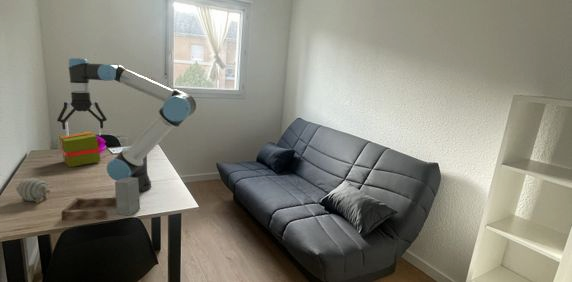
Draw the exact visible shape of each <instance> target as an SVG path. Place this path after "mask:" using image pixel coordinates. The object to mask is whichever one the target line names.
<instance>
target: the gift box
mask: <svg viewBox="0 0 572 282" xmlns="http://www.w3.org/2000/svg"><path fill="white" fill-rule="evenodd" d="M58 137H59V142H60V151H61V152H62V153H61V154H62V157H63V158H62V159H63V161H64V163H65V164H66V166H68V168H73V167H77V166H78V167H79V166H82V165H88V164H95V163H99V162H100V163H101V157H100V156H101V154H102V153H103V152H104V151H106V150H105V149H107V147H108V146H106V144H105V143H107V141H106V140H105V139H104V138H102V137H101V136H100V135H98V134H95V133H94V132H91V131H89V130H88V131H83V132H79V133H71V134H69V136H66V134H64V135H59V136H58Z"/></svg>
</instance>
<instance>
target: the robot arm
mask: <svg viewBox="0 0 572 282" xmlns="http://www.w3.org/2000/svg"><path fill="white" fill-rule="evenodd" d="M68 73H69V81H70V82H69V85H70V91H71V92H70V97H71V101H64V102H63V107H62V110H61V111H60V113H59V115H58V117H57V119H56V120H57V122H60V123H62V125H61V126H62V130H65V135H66V136H69V135H70V133H69V132H70V131H69V122H68V120H69V118H71V116H72V115H73V114H74V113H75V112H76V111H77V112H88V113H90V115H92V116H93V117H94V118H96V120H97V121H98V122H97V125H98V126H97V127H98V136H101V135H102V129H103V128H104V122H106V121H107V120H108V118H107V117H106V115H105V113H104V112H103V110H102V109H101V107H100V105H99V102H98V101H94V102H92V101H91V93H90V80H92V81H93V80H94V81H104V82H108V81H110V82H112V81H116V82H118V83H120V84H123V85H125V86H127V87H130V88H131V89H134V90H137V91H138V92H141V93H143V94H145V95H147V96H150V97H153V99H157V100H159V101H160V102H163V104H162V107H160V109H159V110H158V116H157V117H156V118H155V119H153V121H152V122H151V123H150V124H149V126H148V127H147V128H146V129H145V130H144V131H143V132H142V133H141V134H140V136H139V137H137V139H136V140H135V141H134V142H133V143H132V144H131V145H130V146H128V147H127V146H126V147H123V148H122V150H121V151H120V152H119V153H118V154H117V155H116V156H115V157H114V158H113V159H111V160H109V162H108V163H107V165H106V172H107V175H108V176H109V177H110V178H111V179H112V180H114V181H115V182H116V181H118V180H120V179H123V178H126V177H132V178H138V185H139V193H142V192H146V191H148V190H150V189H151V188H152V182H151V179H150V177H149V174H148V159H147V157H148V155H149V153H151V151H152V150H153V149H154V148H155V147H156V146H158V144H159V143H160V142H161V141H162V140H163V139H164V138H165V137H166V136H167V134H169V132H170V131H171V130H172V129H173V128H178V127H179V126H180V125H181V124H182V123H183V122H184V121H185V120H186V119H187V118H188V117H189V116H191V115H193V114H194V113H195V111H196V108H197V103H196V102H197V101H196V100H195V99H194V97H193V96H192V95H191V94H188V93H186V92H184V91H180V89H179V90H178V89H176V88H175V89H171V88H169V87H167V86H165V85H163V84H161V83H158V82H156V81H154V80H152V79H149V78H148V77H145V76H142V75H140V74H138V73H136V72H134V71H131V70H129V69H126V68H125V67H124V66H123V65H121V64H118V63H89V61H88V59H86V58H81V57H79V58H78V57H77V58H76V57H70V58H69V59H68ZM70 106H71V107H72V109H71V110H70V111H69V113H68V114H67V115H66V116H65V117H64V115H65V112H67V109H68V107H70ZM92 106H93V107H95V109H96V110H97V112H98V113H96V112H95V111H94V109H92V108H91V107H92ZM99 115H100V116H99ZM63 117H64V118H63Z"/></svg>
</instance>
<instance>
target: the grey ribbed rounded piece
mask: <svg viewBox="0 0 572 282" xmlns="http://www.w3.org/2000/svg"><path fill="white" fill-rule="evenodd" d="M16 192H17V194H18V195H19V196H20V197H21V200H22V201H21V202H22V203H25V202H26V201H29V202H30V201H31V202H32V201H33V202H35V204H40V199H41V198H42V199H43V201H46V200H47V194H49V193H50V192H51V190H50V189H49V186H48V184H47V182H45V180H42V179H38V178H28V179H24V180H22V181H20V182H19V184H18V185H17V186H16Z"/></svg>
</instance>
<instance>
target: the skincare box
mask: <svg viewBox="0 0 572 282" xmlns="http://www.w3.org/2000/svg"><path fill="white" fill-rule="evenodd" d="M114 185H115V186H114V188H115V198H116V200H117V206H116V208H117V209H116V211H117V214H118V215H122V216H123V215H124V216H131V215H133V214H134V213H136V212H138V211H139V210H140V209H141V204H140V202H141V201H140V192H139V185H138V178H132V177H126V178H123V179H120V180H118V181H116V180H115V181H114Z"/></svg>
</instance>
